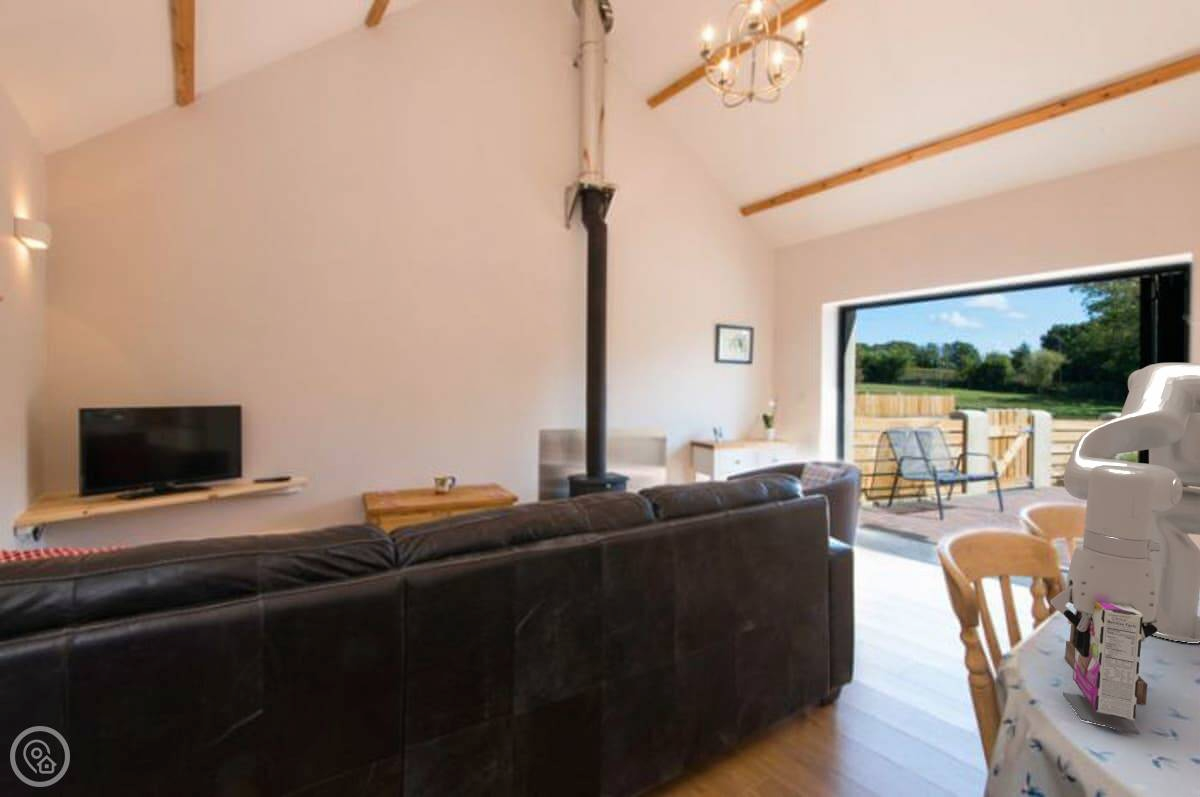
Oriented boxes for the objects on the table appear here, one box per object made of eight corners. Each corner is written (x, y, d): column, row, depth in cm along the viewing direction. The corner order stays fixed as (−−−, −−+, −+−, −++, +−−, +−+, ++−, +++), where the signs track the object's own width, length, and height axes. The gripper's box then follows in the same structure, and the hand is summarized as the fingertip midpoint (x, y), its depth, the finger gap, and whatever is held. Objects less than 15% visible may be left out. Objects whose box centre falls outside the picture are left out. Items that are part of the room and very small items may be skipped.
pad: (1116, 706, 92) (1116, 703, 92) (1139, 734, 85) (1139, 731, 85) (1062, 694, 95) (1063, 692, 95) (1081, 721, 88) (1081, 718, 88)
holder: (1111, 667, 105) (1115, 625, 104) (1145, 704, 93) (1150, 657, 93) (1064, 658, 108) (1068, 617, 107) (1091, 693, 96) (1096, 647, 95)
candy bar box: (1069, 679, 96) (1077, 583, 95) (1107, 687, 94) (1115, 590, 93) (1093, 713, 86) (1102, 606, 85) (1136, 723, 83) (1146, 614, 83)
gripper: (1173, 547, 88) (1162, 660, 89) (1040, 530, 95) (1031, 635, 96) (1201, 561, 82) (1189, 683, 83) (1055, 542, 88) (1045, 655, 89)
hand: (1104, 656), depth 89 cm, fingers closed on candy bar box, 5 cm apart
